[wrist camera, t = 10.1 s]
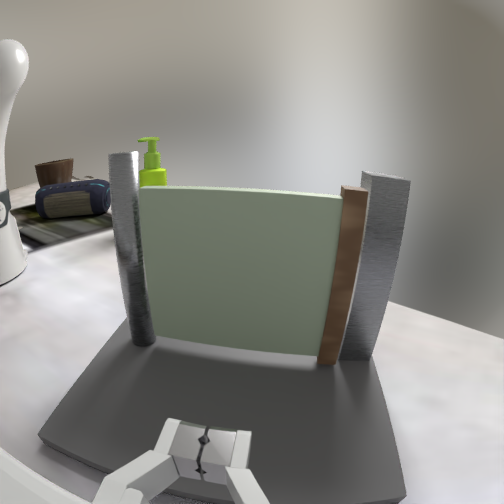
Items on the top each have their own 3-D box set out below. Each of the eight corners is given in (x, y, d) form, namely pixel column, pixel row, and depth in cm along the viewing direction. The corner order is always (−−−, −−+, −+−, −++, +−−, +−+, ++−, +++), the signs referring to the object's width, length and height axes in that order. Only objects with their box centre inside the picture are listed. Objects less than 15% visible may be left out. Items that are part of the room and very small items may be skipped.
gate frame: (44, 443, 14) (-59, 193, 7) (139, 312, 33) (124, 150, 26) (399, 502, 12) (565, 222, 5) (359, 333, 30) (390, 161, 24)
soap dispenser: (134, 234, 59) (129, 138, 52) (151, 225, 65) (148, 137, 58) (157, 237, 58) (153, 136, 51) (173, 227, 64) (171, 136, 57)
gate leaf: (154, 342, 25) (136, 179, 20) (161, 332, 27) (146, 176, 21) (335, 364, 23) (368, 191, 18) (334, 353, 25) (363, 187, 19)
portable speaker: (32, 223, 67) (28, 189, 64) (45, 215, 76) (42, 184, 73) (108, 217, 73) (105, 180, 69) (115, 208, 82) (113, 175, 78)
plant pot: (71, 208, 84) (67, 160, 78) (33, 213, 79) (29, 166, 73) (80, 199, 97) (77, 157, 91) (46, 204, 92) (42, 162, 86)
